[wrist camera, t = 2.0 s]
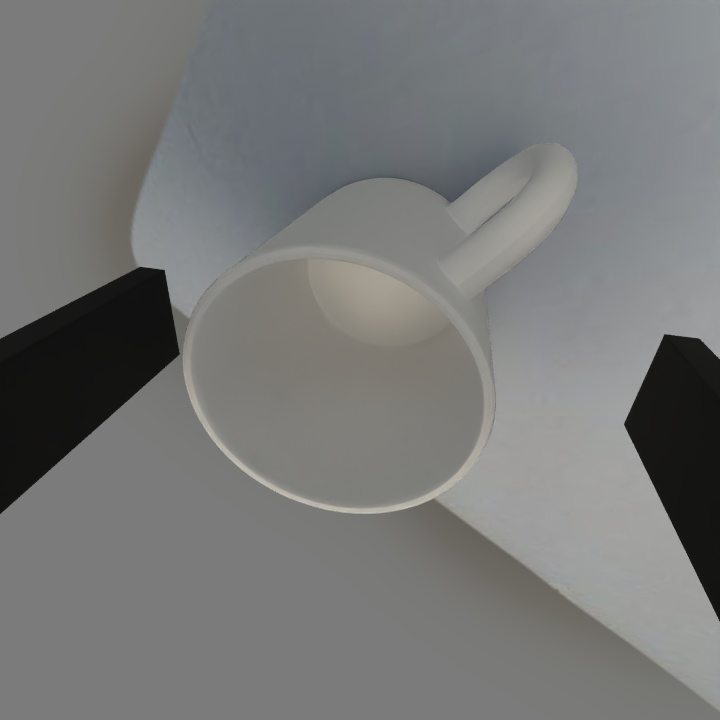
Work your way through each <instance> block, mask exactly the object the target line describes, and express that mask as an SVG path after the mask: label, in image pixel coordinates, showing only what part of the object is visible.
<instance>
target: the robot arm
mask: <svg viewBox="0 0 720 720" xmlns="http://www.w3.org/2000/svg"><path fill="white" fill-rule="evenodd" d="M179 354H180V353H179V348H178V342H177V336H176V331H175V326H174V320H173V315H172V309H171V303H170V297H169V292H168V286H167V281H166V275H165V270H160V269H152V268H144V267H139V268H137V269H135V270H133V271H131V272H129V273H127V274H125V275H123V276H121V277H120V278H118V279H116V280H114V281H112V282H110V283H108V284H106V285H104V286H102V287H100V288H98V289H96V290H95V291H93V292H90V293H89V294H87V295H85V296H83V297H81V298H79V299H77V300H75V301H73V302H71V303H69V304H67V305H65V306H63V307H61V308H59V309H57V310H55V311H53V312H52V313H50V314H48V315H46V316H44V317H42V318H40V319H38V320H36V321H34V322H32V323H30V324H28V325H26V326H24V327H23V328H20V329H18V330H16V331H15V332H13V333H11V334H9V335H7V336H5V337H3V338H1V339H0V514H1V513H2V512H3V511H4V510H5V509H6V508H8V507H9V506H10V505H11V504H12V503H13V502H14V501H15V500H17V499H18V497H20V496H21V495H22V494H23V493H24V492H25V491H27V490H28V489H29V488H30V487H31V486H32V485H33V484H34V483H36V482H37V481H38V480H39V479H40V478H41V477H42V476H43V475H45V474H46V473H47V472H48V471H49V470H50V469H51V468H52V467H54V466H55V465H56V464H57V463H58V462H59V461H60V460H61V459H63V458H64V457H65V456H66V455H67V454H68V453H69V452H70V451H71V450H72V449H74V448H75V447H76V446H77V445H78V444H79V443H81V442H82V440H84V439H85V438H86V437H87V436H88V435H89V434H91V433H92V432H93V431H94V430H95V429H96V428H97V427H99V426H100V425H101V424H102V423H103V422H104V421H105V420H106V419H108V418H109V417H110V416H111V415H112V414H113V413H114V412H115V411H116V410H118V409H119V408H120V407H121V406H122V405H123V404H124V403H125V402H127V401H128V400H129V399H130V398H131V397H132V396H133V395H134V394H136V393H137V392H138V391H139V390H140V389H141V388H142V387H143V386H145V385H146V384H147V383H148V382H149V381H150V380H151V379H152V378H154V377H155V376H156V375H157V374H158V373H159V372H160V371H161V370H162V369H164V368H165V367H166V366H167V365H168V364H169V363H170V362H172V361H173V360H174V359H175V358H176V357H177V356H178V355H179ZM624 425H625V428H626V430H627V432H628V434H629V436H630V438H631V440H632V442H633V444H634V446H635V448H636V450H637V452H638V454H639V456H640V458H641V460H642V462H643V465H644V467H645V469H646V471H647V473H648V475H649V477H650V479H651V481H652V483H653V485H654V487H655V489H656V491H657V493H658V495H659V497H660V500H661V502H662V504H663V506H664V508H665V510H666V512H667V514H668V516H669V518H670V520H671V522H672V524H673V526H674V528H675V530H676V532H677V535H678V537H679V539H680V541H681V543H682V545H683V547H684V549H685V551H686V553H687V555H688V557H689V559H690V561H691V563H692V565H693V567H694V569H695V572H696V574H697V576H698V578H699V580H700V582H701V584H702V586H703V588H704V590H705V592H706V594H707V596H708V598H709V600H710V602H711V604H712V607H713V609H714V611H715V613H716V615H717V617H718V619H719V621H720V359H719V358H718V357H717V356H716V355H715V354H714V353H713V352H712V351H711V350H710V349H709V348H708V347H707V346H706V345H705V344H704V343H703V342H702V341H701V340H700V339H698V338H690V337H682V336H674V335H666V334H665V335H664V337H663V339H662V341H661V343H660V346H659V348H658V350H657V352H656V355H655V357H654V359H653V361H652V363H651V366H650V368H649V370H648V372H647V374H646V377H645V379H644V381H643V383H642V386H641V388H640V390H639V392H638V394H637V397H636V399H635V401H634V403H633V405H632V408H631V410H630V412H629V414H628V416H627V419H626V421H625V423H624Z"/></svg>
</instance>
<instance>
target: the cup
mask: <svg viewBox="0 0 720 720" xmlns="http://www.w3.org/2000/svg"><path fill="white" fill-rule="evenodd" d="M577 173H578V169H577V164H576V162H575V159H574V157H573V155H572V153H571V152H570V151H568V150H567V149H566V148H565V147H563V146H562V145H559V144H554V143H543V144H538V145H534V146H531V147H529V148H527V149H525V150H523V151H521V152H519V153H518V154H516V155H514V156H513V157H511V158H510V159H508V160H507V161H505V162H504V163H502V164H501V165H499V166H498V167H497V168H495V169H494V170H493V171H491V172H490V173H489V174H487V175H486V176H485V177H483V178H482V179H481V180H480V181H478V182H477V183H476V184H475V185H473V186H472V187H471V188H470V189H468V190H467V191H466V192H465V193H464V194H462V195H461V196H460V197H459V198H457V199H456V200H455V201H454V202H453V203H450V202H449V201H447V200H446V199H445V198H444V197H442V196H441V195H439V194H438V193H436V192H435V191H433V190H431V189H429V188H428V187H425V186H423V185H421V184H418V183H415V182H412V181H408V180H403V179H398V178H373V179H366V180H362V181H358V182H355V183H352V184H349V185H347V186H345V187H343V188H341V189H339V190H337V191H335V192H333V193H332V194H330V195H328V196H327V197H325V198H324V199H323V200H321V201H320V202H319V203H317V204H316V205H315V206H313V207H312V208H311V209H309V210H308V211H307V212H305V213H304V214H302V215H301V216H300V217H298V218H297V219H296V220H294V221H293V222H292V223H290V224H289V225H288V226H286V227H285V228H284V229H282V230H281V231H280V232H278V233H277V234H276V235H274V236H273V237H272V238H270V239H269V240H268V241H266V242H265V243H264V244H262V245H261V246H260V247H258V248H257V249H256V250H254V251H253V252H252V253H250V254H249V255H248V256H246V257H245V258H244V259H242V260H241V261H240V262H238V263H237V264H236V265H234V266H233V267H232V268H230V269H229V270H228V271H226V272H225V273H224V274H223V275H221V276H220V277H219V278H218V279H216V281H215V282H214V283H213V284H212V285H211V286H210V287H209V288H208V289H207V290H206V292H205V293H204V294H203V296H202V297H201V298H200V300H199V301H198V303H197V305H196V307H195V309H194V310H193V312H192V315H191V317H190V320H189V322H188V326H187V329H186V333H185V339H184V346H183V370H184V378H185V383H186V388H187V391H188V394H189V397H190V400H191V403H192V405H193V408H194V410H195V412H196V414H197V416H198V418H199V420H200V422H201V423H202V425H203V427H204V428H205V430H206V431H207V433H208V434H209V436H210V437H211V438H212V439H213V441H214V442H215V444H216V445H217V446H218V447H219V448H220V449H221V450H222V451H223V453H224V454H225V455H226V456H227V457H228V458H229V459H230V460H231V461H232V462H233V463H235V464H236V465H237V466H238V467H239V468H240V469H242V470H243V471H244V472H246V473H247V474H248V475H250V476H251V477H252V478H254V479H255V480H257V481H258V482H260V483H261V484H263V485H265V486H266V487H268V488H270V489H272V490H273V491H275V492H277V493H279V494H281V495H284V496H286V497H288V498H291V499H293V500H295V501H298V502H301V503H304V504H307V505H310V506H314V507H318V508H321V509H326V510H331V511H336V512H344V513H358V514H372V513H373V514H374V513H385V512H392V511H397V510H402V509H406V508H410V507H413V506H416V505H419V504H422V503H424V502H426V501H429V500H431V499H433V498H435V497H437V496H439V495H440V494H442V493H444V492H445V491H447V490H448V489H450V488H451V487H452V486H454V485H455V484H456V483H457V482H458V481H460V480H461V479H462V478H463V477H464V476H465V475H466V474H467V473H468V471H469V470H470V469H471V468H472V467H473V466H474V464H475V463H476V462H477V460H478V459H479V457H480V456H481V454H482V452H483V450H484V448H485V446H486V444H487V442H488V439H489V437H490V434H491V431H492V427H493V423H494V417H495V408H496V393H495V383H494V373H493V363H492V353H491V342H490V332H489V322H488V312H487V302H486V292H485V288H487V287H488V286H489V285H491V284H492V283H493V282H495V281H496V280H497V279H499V278H500V277H501V276H503V275H504V274H505V273H506V272H508V271H509V270H510V269H511V268H513V267H514V266H515V265H516V264H518V263H519V262H520V261H521V260H523V259H524V258H525V257H526V256H527V255H528V254H529V253H531V252H532V251H533V250H534V249H535V248H536V247H537V246H538V245H539V244H540V243H541V242H542V241H543V240H544V239H545V238H546V237H547V236H548V235H549V234H550V233H551V232H552V231H553V229H554V228H555V227H556V226H557V224H558V223H559V222H560V220H561V219H562V217H563V216H564V214H565V213H566V211H567V209H568V207H569V205H570V203H571V201H572V199H573V197H574V194H575V191H576V187H577ZM516 195H517V196H516ZM515 196H516V197H515ZM514 197H515V198H514ZM512 198H514V199H513V200H512V201H511V202H510V203H509V204H508V205H507V206H506V207H504V208H503V209H502V210H501V211H500V212H499V213H497V214H496V215H495V216H494V217H492V218H491V219H490V220H489V221H487V222H486V223H485V224H484V225H482V224H483V223H484V222H485V221H486V220H487V219H488V218H490V217H491V216H492V215H493V214H494V213H495V212H496V211H497V210H499V209H500V208H501V207H502V206H503V205H505V204H506V203H507V202H508V201H510V200H511V199H512ZM481 225H482V226H481ZM480 226H481V227H480ZM479 227H480V228H479ZM477 228H478V229H477ZM476 229H477V230H476ZM475 230H476V231H475ZM474 231H475V232H474Z"/></svg>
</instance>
